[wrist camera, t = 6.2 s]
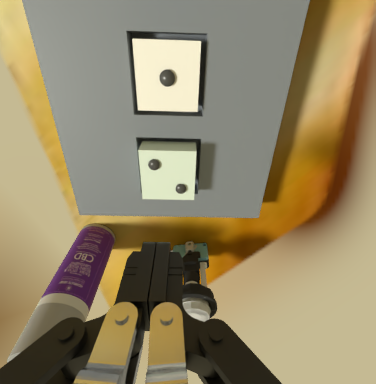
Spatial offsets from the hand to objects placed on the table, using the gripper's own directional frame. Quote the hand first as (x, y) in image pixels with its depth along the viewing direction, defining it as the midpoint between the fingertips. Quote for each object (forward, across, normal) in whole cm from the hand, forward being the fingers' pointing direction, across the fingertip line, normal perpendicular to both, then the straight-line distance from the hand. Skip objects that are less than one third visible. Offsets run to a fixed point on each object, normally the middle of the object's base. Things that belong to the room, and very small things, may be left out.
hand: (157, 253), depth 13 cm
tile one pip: (+13, 0, -8) cm, 15 cm away
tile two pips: (+12, 0, 0) cm, 12 cm away
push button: (+14, -2, +14) cm, 20 cm away
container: (+14, +10, +12) cm, 21 cm away
